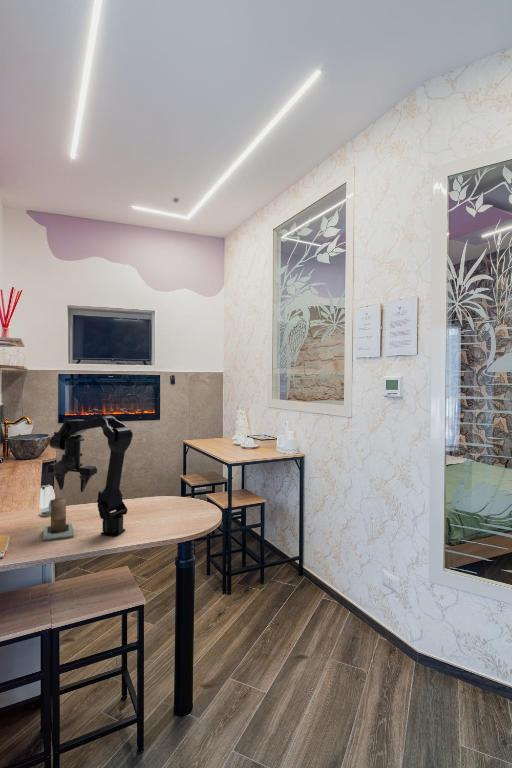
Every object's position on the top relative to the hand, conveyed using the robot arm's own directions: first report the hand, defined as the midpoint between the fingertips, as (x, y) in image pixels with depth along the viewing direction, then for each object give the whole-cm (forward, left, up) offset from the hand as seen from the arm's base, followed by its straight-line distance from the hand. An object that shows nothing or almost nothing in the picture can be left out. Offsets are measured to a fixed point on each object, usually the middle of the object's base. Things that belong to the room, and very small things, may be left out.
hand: (71, 490), depth 169 cm
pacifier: (+14, -5, -12) cm, 20 cm away
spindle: (-4, +13, -12) cm, 18 cm away
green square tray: (-4, +13, -12) cm, 18 cm away
